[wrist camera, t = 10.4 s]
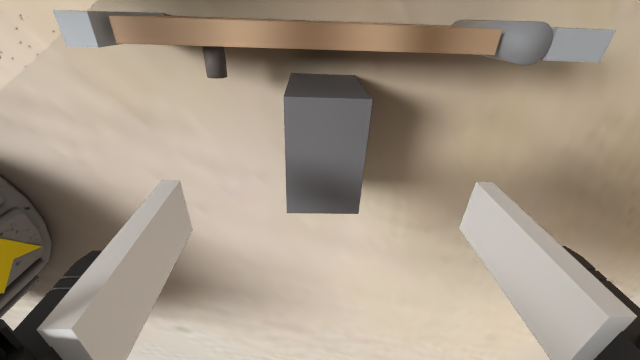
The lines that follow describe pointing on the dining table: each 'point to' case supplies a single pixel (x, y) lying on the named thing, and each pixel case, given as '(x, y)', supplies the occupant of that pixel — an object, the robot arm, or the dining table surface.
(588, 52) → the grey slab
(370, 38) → the door
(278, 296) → the dining table surface
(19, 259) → the toy tesla coil
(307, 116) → the grey rectangular block
